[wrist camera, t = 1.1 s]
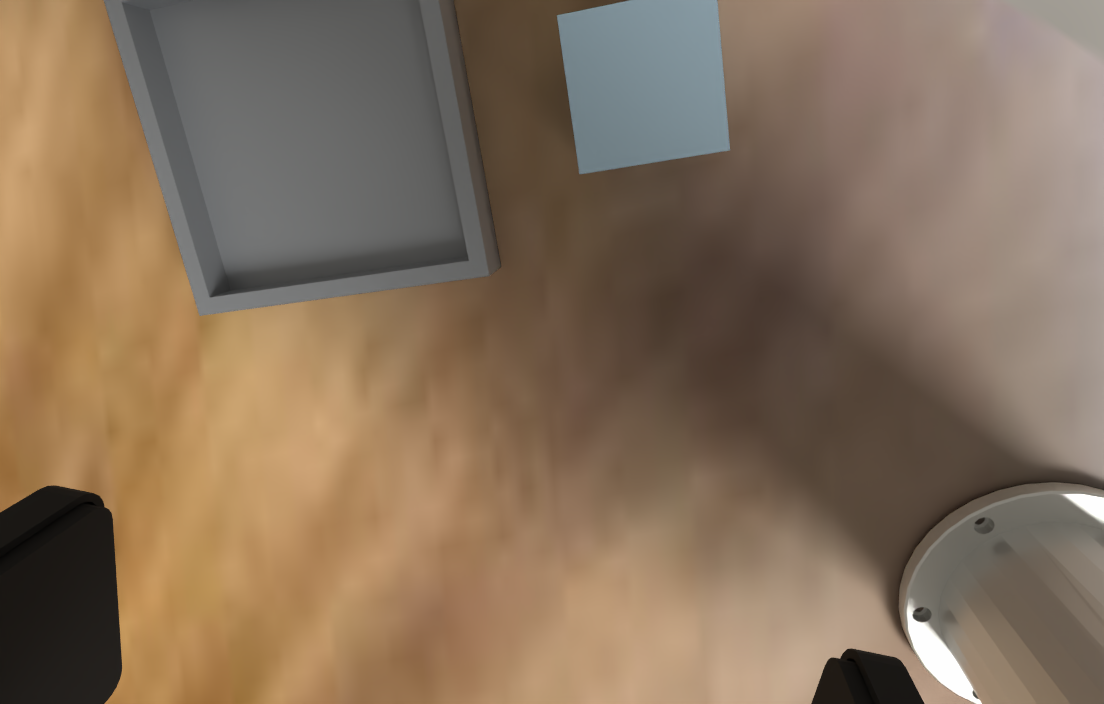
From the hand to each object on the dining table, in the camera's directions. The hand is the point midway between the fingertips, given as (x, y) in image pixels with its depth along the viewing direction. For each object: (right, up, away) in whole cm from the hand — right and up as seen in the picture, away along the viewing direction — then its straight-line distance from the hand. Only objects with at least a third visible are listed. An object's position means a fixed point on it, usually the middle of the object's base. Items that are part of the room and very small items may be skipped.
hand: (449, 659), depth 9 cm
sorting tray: (-9, +14, +23) cm, 29 cm away
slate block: (+5, +15, +21) cm, 26 cm away
